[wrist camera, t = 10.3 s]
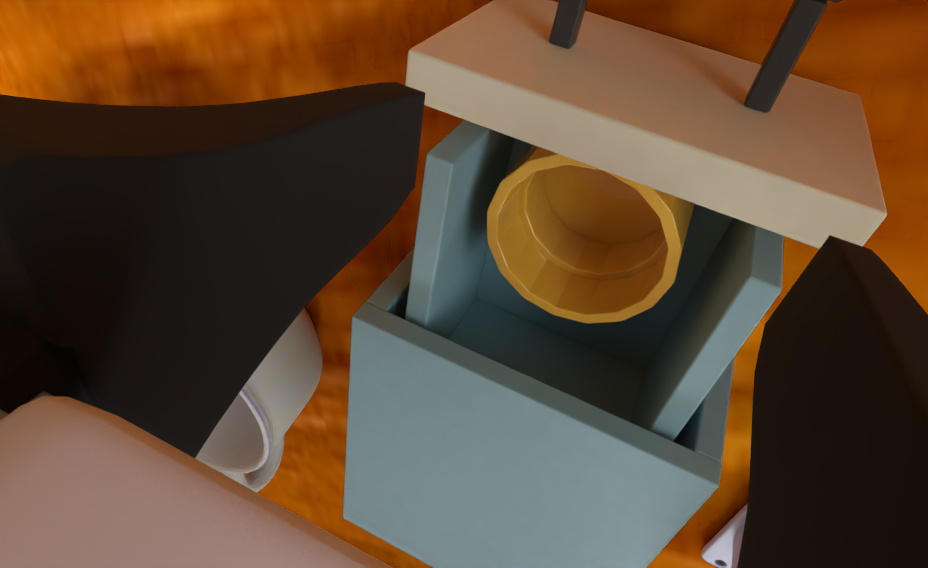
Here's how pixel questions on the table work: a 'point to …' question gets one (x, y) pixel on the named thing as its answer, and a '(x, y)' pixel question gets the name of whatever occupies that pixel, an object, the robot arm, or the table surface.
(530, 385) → the cabinet
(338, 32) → the table surface
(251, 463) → the teacup
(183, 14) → the table surface
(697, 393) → the drawer
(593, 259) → the bowl
